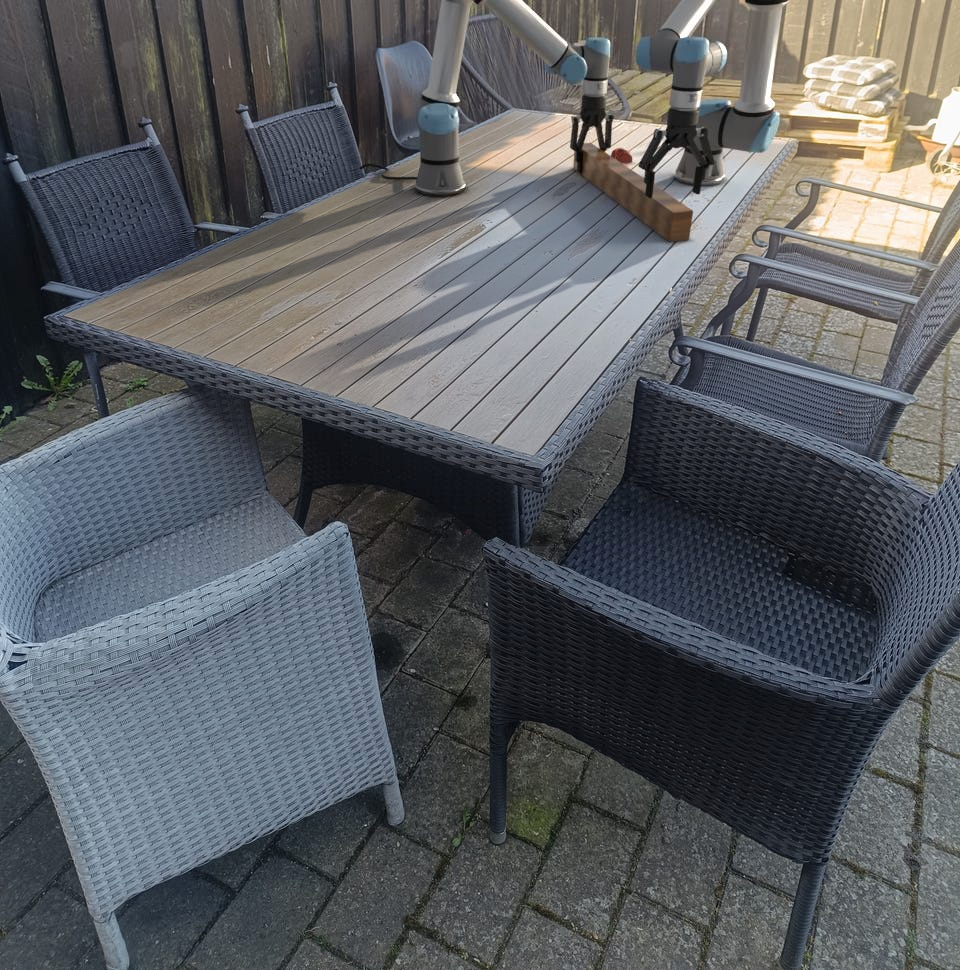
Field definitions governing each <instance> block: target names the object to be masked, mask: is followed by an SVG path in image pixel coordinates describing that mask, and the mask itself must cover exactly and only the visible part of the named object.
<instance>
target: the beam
mask: <svg viewBox="0 0 960 970" xmlns="http://www.w3.org/2000/svg"><path fill="white" fill-rule="evenodd" d="M581 151H582V152H583V166H582V174H580V175H581V176H582V177H584V178H585V179H586V180H588V181H589V182H590V183H592V185H594V186H596V187H597V188H598V189H599V190H601V191H602V192H603V193H604V194H606V195H607V196H608V197H610V198H611V199H613V200H614V201H615V202H617V203H618V204H619V205H620V206H621V207H623V208H624V209H626V210H627V211H628V212H630V213H631V214H632V215H634V216H635V217H636V218H637V219H638V220H640V221H641V222H643V223H644V224H645V225H646V226H648V227H649V228H650V229H652V230H653V231H654V232H656V233H657V234H658V235H659V236H660V237H662V238H664V239H665V240H666V241H668V243H674V242H675V243H676V242H683V241H689V240H690V237H691V236H690V235H691V230H692V229H691V228H692V222H693V217H694V216H693V215H694V210H693V209H691V208H689V206H686V205H685V204H684V203H682V202H681V201H679V200H678V199H676V198H675V197H673V195H670V194H669V193H668V192H666V191H665V190H663V189H661V188H659V186H656V185H655V184H654V187H653V195H652V198H648V197H647V196H645V192H646V184H645V183H644V176H641V174H639V173H637V172H635V171H634V170H633V169H631V168H630V167H628V166H626V165H625V164H624V163H620V162H619V161H617V160H616V159H614V158H613V157H611V154H609V153H607V152H606V151H605V152H604V151H602V150H601V149H600V148H599V146H596V145H595V144H594V143H592V142H584V144H583V147H582V150H581ZM572 163H573V164H572V165H573V166H572V169H573V170H575V171H576V172H577V162H576V161H575V151H573V162H572Z"/></svg>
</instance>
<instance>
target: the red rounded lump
mask: <svg viewBox="0 0 960 970" xmlns="http://www.w3.org/2000/svg"><path fill="white" fill-rule="evenodd" d="M610 156H611V157H613V158H614V159H616V160H617V161H619V162H620V163H622V164H632V163H633V156H632V154H631V152H630V150H628V149H624V148H623V147H617V148H615V149H613V150H612V151H611V154H610Z"/></svg>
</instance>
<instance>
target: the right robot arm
mask: <svg viewBox="0 0 960 970" xmlns="http://www.w3.org/2000/svg"><path fill="white" fill-rule="evenodd" d="M716 1H717V0H680V2H679V3H678V4H677V6H676V7H675V8H674V9H673V11H672V13H670V15H669V17H668V18H667V19H666V21H665V22H664V23H663V25H662V26H661V27H660V29H658V32H657V33H656V34H655V35H654V36H652V35H649V36H643V37H642V38H640V39H639V41H638V43H637V45H636V49H635V63H636V65H637V67H638V68H640V69H644V70H649V71H650V72H653V71H655V72H665V73H672V81H671V86H670V87H671V89H670V94H669V95H670V96H669V103H668V104H669V108H668V111H667V119H666V128H665V129H664V130H663V129H659V128H655V129H654V130H653V135H652V139H651V141H650V142H649V144H648V146H647V148H646V150H645V152H643V153H644V154H643V156H642V157H641V159H640V161H639V163H638V164H637V165H638V168H639V169H642V170H643V171H644V176H643V178H644V183H645V184H646V192H645V196H647V197H648V198H652V195H653V187H654V185H655V178H656V171H654V170H655V168H656V167H657V166H658V165H659V163H660V162H661V161H662V160H663V159H664V157H665V156H666V155H667V154H668V153H669V152H670V151H672V149H680V148H682V149H684V150H683V154H682V156H681V158H680V161H679V162H678V165H677V167H676V168H675V172H674V173H675V174H674V179H675V180H676V181H677V182H680V183H683V184H686V185H692V193H694V194H696V195H701V189H702V186H714V185H715V186H716V185H720V184H722V183H723V182H724V181H725V177H726V176H725V175H726V173H725V167H724V160H723V150H724V149H729V150H734V151H741V152H746V153H749V154H751V153H754V154H755V153H757V154H762V153H765V152H766V151H767V150H769V147H770V146H771V145H772V143H773V141H774V139H775V136H776V135H777V131H778V129H779V125H780V120H781V117H780V116H781V114H780V113H779V112H778V111H775V106H776V105H775V102H774V101H773V99H772V98H771V96H772V95H771V94H772V88H773V87H772V86H773V80H774V79H773V78H774V72H775V64H776V57H777V51H778V42H779V36H780V28H781V21H782V14H783V8H784V7H785V6H786V5H787V3H789V2H790V0H744V3H745V4H746V6H747V7H748V8H749V11H748V19H747V29H746V38H745V45H744V46H745V47H744V56H743V64H742V74H741V82H740V90H739V97H738V99H736V100H735V101H734V102H733V105H732V103H731V100H730V99H726V98H712V99H703V100H702V95H703V89H704V81H705V78H706V77H709V76H712V75H713V76H714V75H716V74H717V73H718V72H720V71H721V70H722V69H723V68H724V67H725V65H726V63H727V59H728V51H727V48H726V46H725V45H724V44H723V43H722V42H720V41H718V40H708V38H706V37H702V36H701V37H700V36H692V35H693V34H694V33H695V31H696V30H697V28H698V27H699V26H700V24H701V23H702V21H703V20H704V18H705V17H706V16H707V14H708V13H709V11H710V10H711V9H712V7H713V6H714V4H715V3H716ZM731 105H732V106H731ZM664 137H665V139H664ZM663 139H664V141H663V142H662V140H663ZM661 142H662V143H661ZM660 144H661V146H660ZM659 146H660V147H659Z"/></svg>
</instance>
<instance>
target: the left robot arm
mask: <svg viewBox="0 0 960 970" xmlns="http://www.w3.org/2000/svg"><path fill="white" fill-rule="evenodd" d="M472 4H476V6H484V7H485V8H486V9H487V10H488V11H489V12H490V13H491V14H492V15H494V17H495V18H496V19H498V20H499V21H500V22H501V23H502V24H503V25H504V26H505V27H506V28H508V29H509V30H510V31H511V32H512V33H513V34H514V35H515V36H516V37H517V38H518V39H520V40H521V42H523V44H525V45H526V46H527V47H528V48H529V49H530V50H531V51H532V52H534V53H535V54H536V55H537V56H538V57H539V58H540V59H541V60H542V61H544V70H545V73H546V74H548V75H555V76H556V75H558V76H559V77H560V78H561V79H562V80H563V81H564V82H565V83H566V84H570V85H577V84H579V83H581V82H582V88H581V89H582V90H581V91H582V96H581V105H580V106H581V107H580V108H581V109H580V112H579V114H578V115H572V116H571V118H570V119H571V123H572V125H571V135H570V142H569V143H570V144H569V148H570V149H571V150H572V151H573V152H574V151H575V161H576V162H577V171H576V172H577V173H578V174H579V175H581V174H582V166H583V152H582V151H581V150H582V147H583V144H584V143H585V141H586V138H587V135H588V132H589V130H590V128H593V127H594V128H595V133H596V137H597V142H598V148H599V149H601V150H602V151H604V152H605V153H606V152H607V150H608V149H610V148H611V147H612V135H613V134H612V133H613V131H612V130H613V121H614V119H615V116H614V115H613V114H611V113H607V111H606V107H607V95H606V94H607V93H608V83H609V82H608V81H609V70H610V59H611V41H610V40H609V39H608V38H606V37H600V36H594V37H587V38H586V39H585V43H584V45H569V44H568V43H567V41H565V40H564V39H563V38H562V37H561V36H560V35H559V34H558V33H557V32H556V31H555V30H554V29H553V28H552V27H551V26H549V25H548V24H547V23H546V22H545V21H544V20H543V19H542V18H541V17H540V16H539V15H538V13H536V12H535V11H534V10H532V8H531V7H530V6H529V5H527V3H525V2H524V1H523V0H440V6H439V13H438V20H437V25H436V32H435V39H434V46H433V52H432V59H431V66H430V70H429V72H430V73H429V78H428V84H427V88H425V89H424V90H422V92H421V98H420V103H419V104H420V105H419V108H418V112H417V115H416V123H417V124H416V125H417V128H418V134H419V135H418V136H419V157H420V158H419V159H420V161H419V162H420V164H419V168H418V172H417V176H388V175H387V174H388V173H389V172H390V169H389V168H388V167H386V166H384V165H381V164H377V163H364V164H362V165H361V166H360V167H358V170H363V169H364V168H366V167H374V168H379V169H383V170H384V169H385V170H384V171H383V172H382V173H381V174H380V175H381V176H380V177H381V178H383V179H385V180H392V181H396V180H397V181H398V180H400V181H401V180H404V181H415V183H414V184H415V185H414V186H415V192H417V193H418V194H420V195H424V196H430V197H450V196H455V195H459V194H461V193H463V192H464V191H466V181H465V179H464V176H463V172H462V169H461V165H460V149H459V147H460V146H459V145H460V144H459V143H460V141H459V140H460V139H459V123H460V117H459V106H460V101H461V100H460V97H459V96H458V95H457V88H458V82H459V77H460V72H461V71H460V70H461V66H462V59H463V53H464V48H465V43H466V37H467V29H468V25H469V19H470V12H471V6H472ZM604 120H605V125H604V132H603V124H602V123H603V121H604ZM581 121H582V124H581V129H580V133H579V128H580V127H579V126H580V125H579V123H581Z"/></svg>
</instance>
